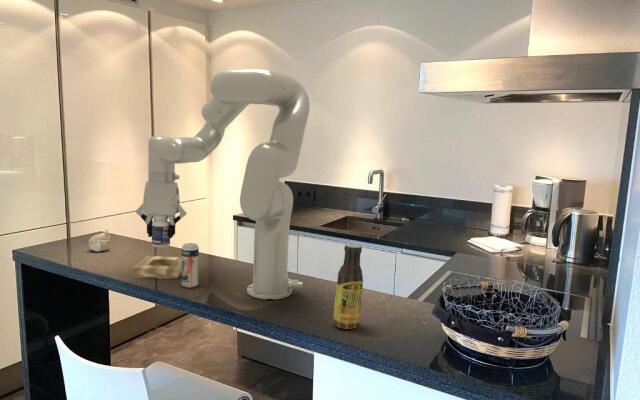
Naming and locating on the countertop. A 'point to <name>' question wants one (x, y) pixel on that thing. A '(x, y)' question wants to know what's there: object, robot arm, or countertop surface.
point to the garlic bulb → (100, 242)
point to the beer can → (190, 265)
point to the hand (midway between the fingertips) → (161, 236)
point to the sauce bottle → (349, 289)
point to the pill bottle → (160, 231)
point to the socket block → (158, 267)
